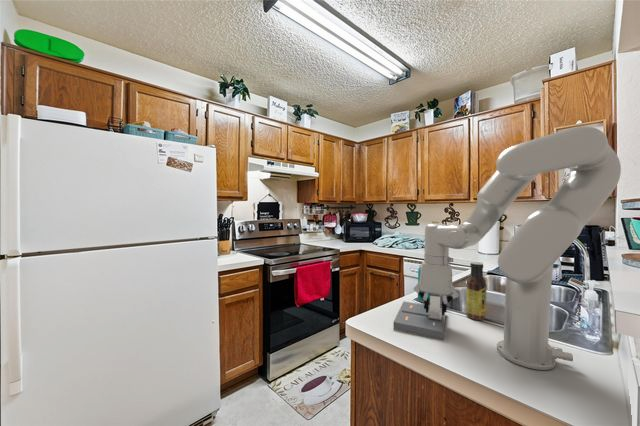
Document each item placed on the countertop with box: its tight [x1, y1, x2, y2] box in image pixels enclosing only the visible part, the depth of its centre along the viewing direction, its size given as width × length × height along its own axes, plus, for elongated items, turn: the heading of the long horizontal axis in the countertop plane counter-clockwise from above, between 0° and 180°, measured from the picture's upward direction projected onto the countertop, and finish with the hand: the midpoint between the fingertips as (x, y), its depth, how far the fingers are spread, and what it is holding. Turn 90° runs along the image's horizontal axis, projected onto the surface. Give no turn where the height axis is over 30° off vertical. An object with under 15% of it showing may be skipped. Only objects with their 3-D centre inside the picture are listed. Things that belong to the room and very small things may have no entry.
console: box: [393, 301, 446, 341], centre depth 92 cm, size 15×20×3 cm
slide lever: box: [428, 293, 442, 320], centre depth 90 cm, size 4×5×8 cm
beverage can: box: [417, 264, 431, 304], centre depth 110 cm, size 6×6×15 cm
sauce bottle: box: [465, 261, 487, 321], centre depth 95 cm, size 7×6×20 cm
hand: (435, 312), depth 90 cm, fingers open, 4 cm apart
